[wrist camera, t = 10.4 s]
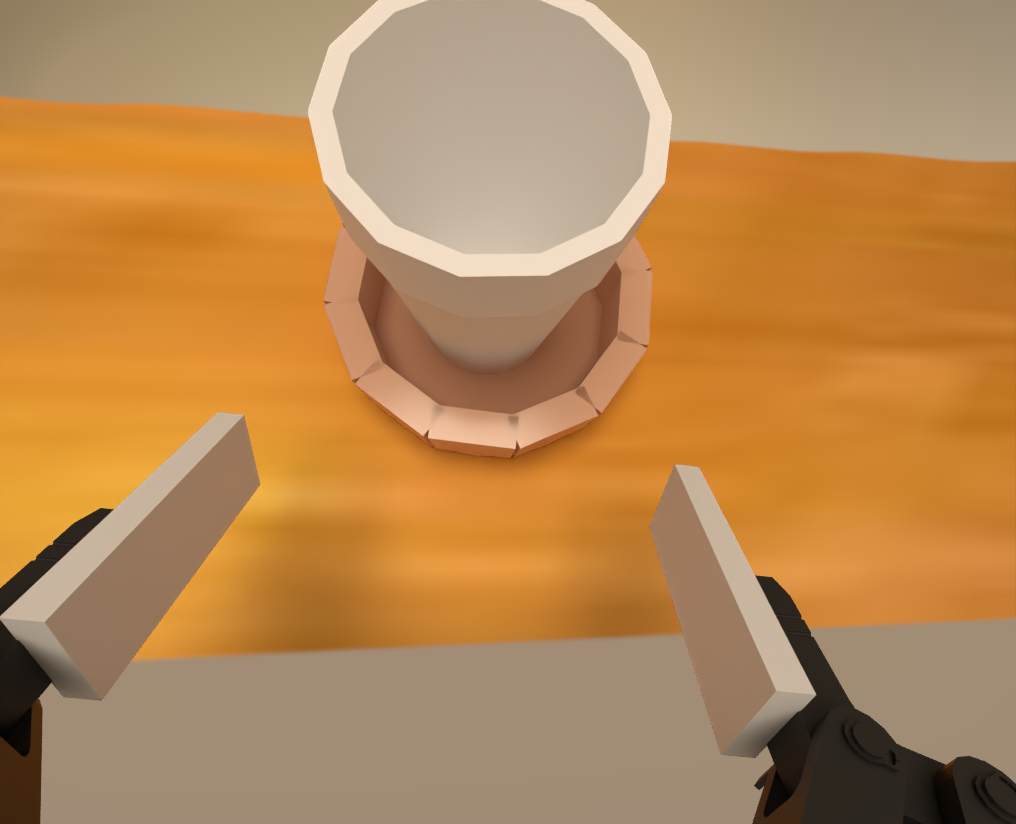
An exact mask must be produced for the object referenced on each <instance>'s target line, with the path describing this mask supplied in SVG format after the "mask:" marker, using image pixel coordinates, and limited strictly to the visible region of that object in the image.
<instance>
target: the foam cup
mask: <svg viewBox="0 0 1016 824" xmlns="http://www.w3.org/2000/svg"><path fill="white" fill-rule="evenodd" d="M308 115H309V119H310V124H311V128H312V132H313V137H314V141H315V145H316V150H317V154H318V159H319V163H320V167H321V172H322V176H323V180H324V183H325V186H326V188H327V190H328V192H329V194H330V196H331V198H332V200H333V202H334V205H335V207H336V209H337V211H338V213H339V215H340V217H341V219H342V222H343V224H344V226H345V228H346V230H347V232H348V234H349V236H350V238H351V240H352V241H353V242H354V243H355V244H356V245H357V246H358V247H359V249H360V250H361V251H362V252H363V253H364V254H365V255H366V256H367V258H368V259H369V260H370V261H371V262H372V263H373V264H374V265H375V267H376V268H377V269H378V270H379V271H380V272H381V273H382V274H383V276H384V277H385V278H386V279H387V280H388V281H389V282H390V284H391V285H392V287H393V288H394V289H395V291H396V292H397V294H398V295H399V297H400V298H401V299H402V301H403V302H404V304H405V305H406V307H407V308H408V309H409V311H410V312H411V314H412V315H413V316H414V318H415V319H416V321H417V322H418V324H419V325H420V326H421V328H422V329H423V331H424V332H425V333H426V335H427V336H428V338H429V339H430V341H431V342H432V343H433V344H434V345H435V347H436V348H437V349H438V350H439V351H440V352H441V353H442V355H443V356H444V357H445V358H446V359H447V360H448V361H449V362H450V364H452V365H455V366H457V367H459V368H462V369H464V370H466V371H469V372H471V373H474V374H502V373H504V372H506V371H508V370H510V369H512V368H514V367H516V366H518V365H520V364H522V363H524V362H526V360H527V359H529V357H530V356H531V355H532V354H533V353H534V351H535V350H536V349H537V348H538V346H539V345H540V344H541V343H542V342H543V340H544V339H545V338H546V337H547V336H548V334H549V333H550V332H551V331H552V330H553V328H554V327H555V326H556V325H557V324H558V322H559V321H560V320H561V319H562V318H563V316H564V315H565V314H566V313H567V312H568V310H569V309H570V308H571V307H572V306H573V304H574V303H575V302H576V301H577V300H578V298H579V297H580V296H581V295H582V294H583V293H584V292H586V291H588V290H590V289H593V288H595V287H597V286H598V284H599V283H600V282H601V280H602V279H603V278H604V276H605V275H606V274H607V272H608V271H609V269H610V268H611V267H612V265H613V264H614V263H615V261H616V260H617V259H618V257H619V256H620V255H621V253H622V252H623V251H624V249H625V248H626V247H627V245H628V244H629V243H630V241H631V240H632V239H633V237H634V236H635V234H636V232H637V230H638V229H639V227H640V225H641V223H642V222H643V220H644V218H645V216H646V215H647V213H648V211H649V209H650V208H651V206H652V204H653V202H654V201H655V199H656V197H657V195H658V194H659V192H660V190H661V188H662V187H663V185H664V183H665V176H666V167H667V158H668V149H669V141H670V132H671V123H672V114H671V111H670V109H669V107H668V104H667V102H666V99H665V97H664V94H663V92H662V90H661V87H660V85H659V82H658V80H657V77H656V75H655V73H654V70H653V68H652V65H651V63H650V61H649V58H648V56H647V53H646V52H645V51H644V50H643V49H642V48H640V47H639V46H638V45H637V44H636V43H635V42H634V41H633V40H632V39H631V38H630V37H629V36H628V35H627V34H625V33H624V32H623V31H622V30H621V29H620V28H619V27H618V26H617V25H616V24H615V23H614V22H612V21H611V20H610V19H609V18H608V17H607V16H606V15H605V14H604V13H603V12H602V11H601V10H599V8H597V6H595V5H594V4H592V3H589V2H587V1H584V0H378V1H377V2H376V3H375V4H374V5H373V6H372V7H370V8H369V9H368V10H367V11H366V12H365V13H364V14H363V15H362V16H361V17H360V18H359V19H358V20H356V21H355V22H354V23H353V24H352V25H351V26H350V27H349V28H348V29H347V30H346V31H344V32H343V34H341V35H340V36H339V37H338V38H337V39H336V40H335V41H334V42H333V43H332V44H330V45H329V48H328V51H327V54H326V57H325V60H324V63H323V66H322V69H321V72H320V75H319V78H318V81H317V84H316V88H315V90H314V93H313V97H312V100H311V103H310V105H309V109H308Z"/></svg>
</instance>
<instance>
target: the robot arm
mask: <svg viewBox="0 0 1016 824" xmlns="http://www.w3.org/2000/svg"><path fill="white" fill-rule="evenodd" d="M259 486H260V482H259V477H258V473H257V469H256V464H255V460H254V456H253V451H252V447H251V443H250V439H249V434H248V430H247V426H246V421H245V417H244V415H239V414H230V413H221V412H217V413H216V414H215V415H214V416H213V417H212V418H211V419H210V420H209V421H208V422H207V423H206V424H205V425H204V426H203V427H201V428H200V429H199V430H198V431H197V432H196V433H195V434H194V435H193V436H192V437H191V438H190V439H189V440H188V441H187V442H185V443H184V444H183V445H182V446H181V447H180V448H179V449H178V450H177V451H176V452H175V453H174V454H173V455H172V456H171V457H169V458H168V459H167V460H166V461H165V462H164V463H163V464H162V465H161V466H160V467H159V468H158V469H157V470H156V471H155V472H153V473H152V474H151V475H150V476H149V477H148V478H147V479H146V480H145V481H144V482H143V483H142V484H141V485H140V486H139V487H137V488H136V489H135V490H134V491H133V492H132V493H131V494H130V495H129V496H128V497H127V498H126V499H125V500H124V501H123V502H121V503H120V504H119V505H118V506H117V507H116V508H115V509H104V508H100V509H98V510H97V511H95V512H93V513H91V514H89V515H88V516H86V517H84V518H82V519H80V520H79V521H77V522H75V523H74V524H72V525H71V526H70V527H69V528H68V529H67V530H66V531H65V532H63V533H62V534H61V535H60V536H59V537H58V538H57V539H55V540H54V541H53V542H54V543H53V544H52V545H49V546H48V547H46V548H45V549H44V550H43V551H42V552H41V553H40V554H39V555H37V556H36V560H34V561H31V562H29V563H28V564H27V565H26V566H25V567H24V568H23V569H22V570H20V571H19V572H18V573H17V574H16V575H15V576H14V577H13V578H11V579H10V580H9V581H8V582H7V583H6V584H5V585H3V586H2V587H1V588H0V824H40V806H41V805H40V804H41V758H42V706H41V703H40V700H39V699H38V698H39V697H40V695H41V694H42V693H43V692H44V691H45V689H46V688H47V687H48V686H49V685H50V684H51V683H52V684H53V685H54V686H55V687H56V689H57V690H58V691H59V692H60V694H61V695H62V696H63V697H68V698H79V699H90V700H102V699H103V698H104V697H105V696H106V694H107V693H108V691H109V690H110V689H111V687H112V686H113V685H114V683H115V682H116V680H117V679H118V678H119V676H120V675H121V674H122V672H123V671H124V670H125V668H126V667H127V666H128V664H129V663H130V661H131V660H132V659H133V657H134V656H135V655H136V653H137V652H138V651H139V649H140V648H141V646H142V645H143V644H144V642H145V641H146V640H147V638H148V637H149V636H150V634H151V633H152V631H153V630H154V629H155V627H156V626H157V625H158V623H159V622H160V621H161V619H162V618H163V616H164V615H165V614H166V612H167V611H168V610H169V608H170V607H171V606H172V604H173V603H174V601H175V600H176V599H177V597H178V596H179V595H180V593H181V592H182V591H183V589H184V588H185V586H186V585H187V584H188V582H189V581H190V580H191V578H192V577H193V576H194V574H195V573H196V571H197V570H198V569H199V567H200V566H201V565H202V563H203V562H204V561H205V559H206V558H207V556H208V555H209V554H210V552H211V551H212V550H213V548H214V547H215V546H216V544H217V543H218V541H219V540H220V539H221V537H222V536H223V535H224V533H225V532H226V531H227V529H228V528H229V526H230V525H231V524H232V522H233V521H234V520H235V518H236V517H237V516H238V514H239V513H240V511H241V510H242V509H243V507H244V506H245V505H246V503H247V502H248V501H249V499H250V498H251V496H252V495H253V494H254V492H255V491H256V490H257V488H258V487H259ZM649 528H650V531H651V534H652V537H653V540H654V543H655V547H656V550H657V553H658V556H659V559H660V562H661V566H662V569H663V572H664V575H665V578H666V582H667V585H668V588H669V591H670V594H671V597H672V601H673V604H674V607H675V610H676V613H677V616H678V620H679V623H680V626H681V629H682V632H683V636H684V639H685V642H686V645H687V648H688V651H689V654H690V657H691V661H692V664H693V667H694V670H695V674H696V677H697V680H698V683H699V686H700V690H701V692H702V696H703V699H704V702H705V705H706V708H707V712H708V715H709V718H710V721H711V725H712V728H713V731H714V734H715V737H716V740H717V744H718V747H719V750H720V753H721V755H728V756H739V757H751V758H756V756H758V754H759V753H760V752H761V751H762V750H763V749H764V748H765V747H766V746H768V749H769V751H770V754H771V757H772V759H773V762H774V764H773V766H771V767H770V768H769V769H768V770H767V771H766V772H765V773H764V774H763V775H762V776H761V777H760V778H759V779H758V781H757V782H756V784H755V785H754V786H755V787H756V788H757V789H759V790H760V789H761V788H762V787H763V786H764V789H763V792H762V795H761V798H760V801H759V804H758V807H757V811H756V814H755V817H754V820H753V823H752V824H1016V784H1015V783H1014V782H1013V781H1012V780H1011V779H1010V778H1009V777H1007V776H1006V775H1005V774H1004V773H1003V772H1001V771H1000V770H998V769H996V768H995V767H993V766H992V765H990V764H988V763H987V762H985V761H982V760H979V759H977V758H973V757H971V756H964V757H957V758H956V759H954V760H953V761H951V762H950V763H949V764H947V765H945V764H943V763H940V762H938V761H936V760H933V759H930V758H928V757H926V756H924V755H921V754H918V753H916V752H914V751H911V750H909V749H907V748H905V747H902V746H900V745H898V744H896V742H895V741H894V740H893V739H892V738H891V736H890V735H889V734H888V733H887V731H886V730H885V729H884V728H883V727H882V726H880V725H879V724H878V723H877V722H876V721H874V720H873V719H872V718H871V717H870V716H868V715H866V714H864V713H862V712H860V711H859V710H857V709H855V708H854V706H853V705H852V703H851V702H850V700H849V699H848V697H847V695H846V693H845V692H844V690H843V688H842V686H841V685H840V683H839V681H838V679H837V678H836V676H835V674H834V672H833V671H832V669H831V667H830V665H829V664H828V662H827V660H826V658H825V656H824V655H823V653H822V651H821V649H820V648H819V646H818V644H817V642H816V641H815V639H814V637H811V632H810V630H809V628H808V627H807V625H806V623H805V621H804V620H802V619H801V614H800V612H799V611H798V609H797V607H796V605H795V604H794V602H793V600H792V598H791V597H790V595H789V594H788V593H787V592H786V591H785V590H784V589H783V588H782V587H781V586H780V585H779V584H778V583H777V582H776V581H775V580H774V579H773V578H772V577H765V576H755V575H754V573H753V571H752V569H751V567H750V565H749V563H748V561H747V559H746V557H745V555H744V553H743V552H742V550H741V548H740V546H739V544H738V542H737V540H736V538H735V536H734V534H733V532H732V530H731V528H730V526H729V524H728V522H727V521H726V519H725V517H724V515H723V513H722V511H721V509H720V507H719V505H718V503H717V501H716V499H715V497H714V495H713V493H712V491H711V489H710V488H709V486H708V484H707V482H706V480H705V478H704V476H703V474H702V472H701V470H700V468H699V467H694V466H686V465H677V464H675V465H674V467H673V470H672V472H671V475H670V477H669V480H668V482H667V485H666V487H665V489H664V492H663V494H662V497H661V499H660V502H659V504H658V506H657V509H656V511H655V514H654V516H653V519H652V521H651V524H650V526H649Z"/></svg>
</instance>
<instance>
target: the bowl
mask: <svg viewBox="0 0 1016 824" xmlns="http://www.w3.org/2000/svg"><path fill="white" fill-rule="evenodd" d="M342 224H343V223H342ZM343 226H344V224H343ZM651 268H652V267H651V265H650V263H649V261H648V260H647V258H646V256H645V254H644V252H643V250H642V248H641V246H640V244H639V243H638V241H637V239H636V237H635V236H634V237H633V239H632V240H631V241H630V243H629V244H628V245H627V247H626V248H625V249H624V251H623V252H622V253H621V255H620V256H619V257H618V259H617V260H616V261H615V263H614V264H613V265H612V267H611V268H610V269H609V271H608V272H607V274H606V275H605V276H604V278H603V279H602V280H601V282H600V283H599V284H598V286H597V287H595V288H593V289H590V290H588V291H586V292H584V293H583V294H582V295H581V296H580V297H579V298H578V300H577V301H576V302H575V303H574V304H573V306H572V307H571V308H570V309H569V310H568V312H567V313H566V314H565V315H564V316H563V318H562V319H561V320H560V321H559V322H558V324H557V325H556V326H555V327H554V328H553V330H552V331H551V332H550V333H549V334H548V336H547V337H546V338H545V339H544V340H543V342H542V343H541V344H540V345H539V346H538V348H537V349H536V350H535V351H534V353H533V354H532V355H531V356H530V357H529V359H527V360H526V362H524V363H522V364H520V365H518V366H516V367H514V368H512V369H510V370H508V371H506V372H504V373H502V374H474V373H471V372H469V371H466V370H464V369H462V368H459V367H457V366H455V365H452V364H450V362H449V361H448V360H447V359H446V358H445V357H444V356H443V355H442V353H441V352H440V351H439V350H438V349H437V348H436V347H435V345H434V344H433V343H432V342H431V341H430V339H429V338H428V336H427V335H426V333H425V332H424V331H423V329H422V328H421V326H420V325H419V324H418V322H417V321H416V319H415V318H414V316H413V315H412V314H411V312H410V311H409V309H408V308H407V307H406V305H405V304H404V302H403V301H402V299H401V298H400V297H399V295H398V294H397V292H396V291H395V289H394V288H393V287H392V285H391V284H390V282H389V281H388V280H387V279H386V278H385V277H384V276H383V274H382V273H381V272H380V271H379V270H378V269H377V268H376V267H375V265H374V264H373V263H372V262H371V261H370V260H369V259H368V258H367V256H366V255H365V254H364V253H363V252H362V251H361V250H360V249H359V247H358V246H357V245H356V244H355V243H354V242H353V241H352V240H351V238H350V236H349V234H348V232H347V230H346V228H345V226H344V227H340V229H339V233H338V238H337V242H336V247H335V251H334V255H333V260H332V264H331V269H330V273H329V278H328V282H327V287H326V291H325V295H324V300H323V301H324V302H325V305H324V308H325V310H326V313H327V316H328V318H329V321H330V323H331V326H332V329H333V331H334V334H335V337H336V339H337V342H338V345H339V347H340V350H341V353H342V355H343V358H344V361H345V363H346V366H347V369H348V371H349V374H350V377H351V379H352V381H353V382H354V383H355V385H356V386H357V387H358V388H359V389H360V390H361V391H362V392H363V393H364V394H365V395H366V396H367V397H368V398H369V399H370V400H371V401H372V402H373V403H374V404H375V405H377V406H378V407H379V408H381V409H382V410H383V411H385V412H386V413H387V414H389V415H390V416H391V417H392V418H394V419H395V420H396V421H397V422H399V423H400V424H401V425H402V426H403V427H404V428H405V429H407V430H408V431H410V432H411V433H413V434H415V435H416V436H417V437H419V438H420V439H421V440H423V441H424V442H425V443H426V444H428V445H429V446H430V447H432V446H434V448H435V449H440V450H448V451H452V452H455V453H461V454H466V455H471V456H484V457H504V458H510V457H511V456H512V455H513V456H514V457H517V456H519V455H521V454H524V453H526V452H529V451H532V450H535V449H538V448H541V447H544V446H546V445H548V444H550V443H552V442H554V441H556V440H558V439H560V438H562V437H564V436H566V435H569V434H571V433H573V432H576V431H578V430H580V429H582V428H583V427H584V426H586V425H587V424H588V423H590V422H591V421H592V420H593V419H595V418H596V417H597V416H598V415H600V414H601V413H602V412H603V410H604V409H605V408H606V406H607V405H608V403H609V402H610V401H611V399H612V398H613V396H614V395H615V394H616V392H617V391H618V389H619V388H620V387H621V385H622V384H623V382H624V381H625V380H626V378H627V377H628V375H629V374H630V373H631V371H632V370H633V368H634V367H635V366H636V364H637V363H638V361H639V360H640V359H641V357H642V356H643V354H644V353H645V352H646V350H647V349H646V347H647V346H648V345H649V329H650V310H651V291H652V272H653V271H649V270H650V269H651Z"/></svg>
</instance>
